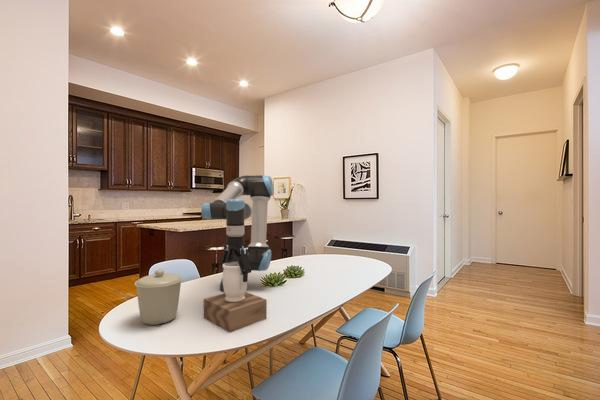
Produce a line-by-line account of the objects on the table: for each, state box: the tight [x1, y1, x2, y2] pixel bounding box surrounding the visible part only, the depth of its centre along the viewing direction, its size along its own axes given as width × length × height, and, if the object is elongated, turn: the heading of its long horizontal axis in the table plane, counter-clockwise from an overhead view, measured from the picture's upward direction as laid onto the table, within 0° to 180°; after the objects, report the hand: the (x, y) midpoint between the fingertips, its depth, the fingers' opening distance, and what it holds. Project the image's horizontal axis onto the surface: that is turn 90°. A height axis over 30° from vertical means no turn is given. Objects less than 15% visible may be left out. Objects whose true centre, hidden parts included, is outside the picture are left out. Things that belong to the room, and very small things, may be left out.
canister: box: [134, 268, 184, 326], centre depth 123 cm, size 18×18×21 cm
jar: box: [221, 262, 247, 302], centre depth 125 cm, size 11×10×15 cm
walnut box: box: [203, 291, 268, 333], centre depth 125 cm, size 20×18×8 cm
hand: (235, 286), depth 125 cm, fingers open, 12 cm apart
